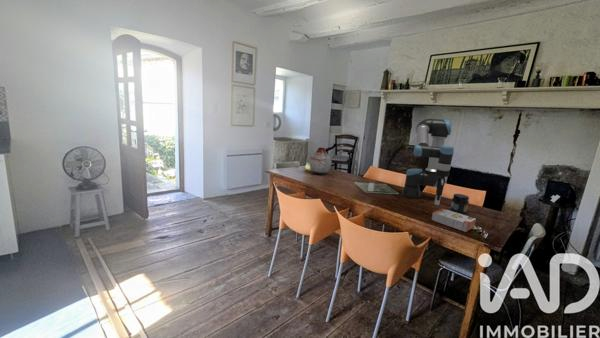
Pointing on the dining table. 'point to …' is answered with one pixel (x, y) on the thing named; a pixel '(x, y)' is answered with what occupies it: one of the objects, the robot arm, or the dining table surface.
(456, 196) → the supplement container
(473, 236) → the dining table surface
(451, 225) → the cracker box
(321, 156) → the vase
